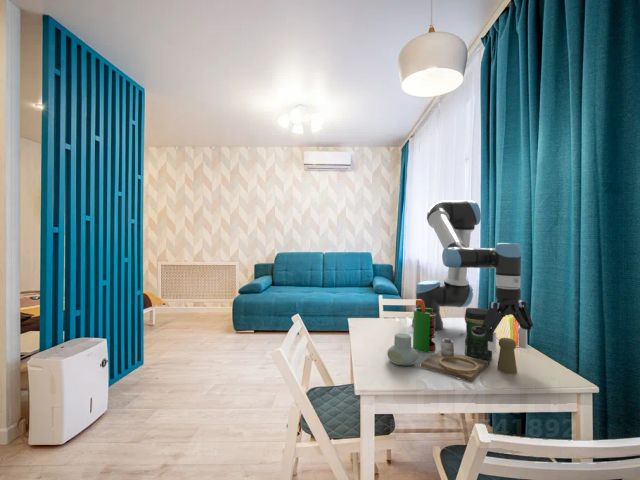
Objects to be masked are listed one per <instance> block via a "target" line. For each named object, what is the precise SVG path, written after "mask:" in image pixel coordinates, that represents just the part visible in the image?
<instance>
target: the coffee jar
mask: <svg viewBox="0 0 640 480" xmlns="http://www.w3.org/2000/svg"><path fill="white" fill-rule="evenodd" d="M488 309H489V308H488ZM488 309H487V308H482V307H481V308H478V307H466V309H465V314H464V321H465V325H466V326H465V341H464V354H465V355H464V356H468V357H472V358H476V359H481V360H485V361H489V360H491V359H492V358H493V352H492V351H490V350H488V341H487V331H486V330H483V329H482V328H481V327H482V324H483V322H484V319H485V317H486V314H487V312H488ZM486 327H487V326H486Z"/></svg>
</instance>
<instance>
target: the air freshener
mask: <svg viewBox="0 0 640 480" xmlns="http://www.w3.org/2000/svg"><path fill="white" fill-rule="evenodd" d="M393 343H394V345H391V346H390V347H389V348H388V349H387V352H386V354H387V358H388V359H389V360H390V361H391V362H392V363H394V364H395V365H398V366H400V367H401V366H411V365H413V364H415V363H416V362H417V361H418V359H419V353H418V350H415V349H414V348H413V346H412V336H411V335H410V334H408V333H402V332H401V333H396V334H394V342H393Z"/></svg>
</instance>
